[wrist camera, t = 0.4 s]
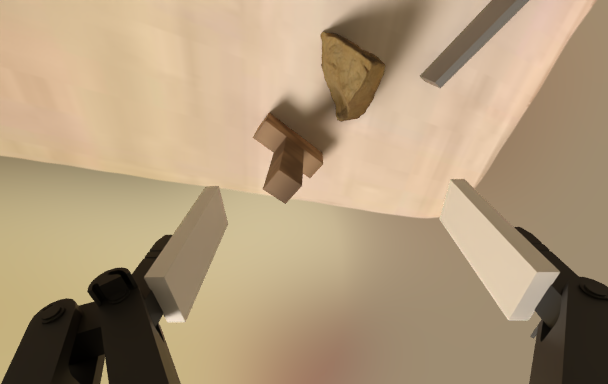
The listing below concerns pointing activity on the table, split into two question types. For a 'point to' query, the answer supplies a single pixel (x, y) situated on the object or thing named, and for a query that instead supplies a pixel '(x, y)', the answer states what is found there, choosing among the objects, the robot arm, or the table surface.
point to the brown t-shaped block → (286, 158)
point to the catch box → (471, 40)
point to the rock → (349, 75)
